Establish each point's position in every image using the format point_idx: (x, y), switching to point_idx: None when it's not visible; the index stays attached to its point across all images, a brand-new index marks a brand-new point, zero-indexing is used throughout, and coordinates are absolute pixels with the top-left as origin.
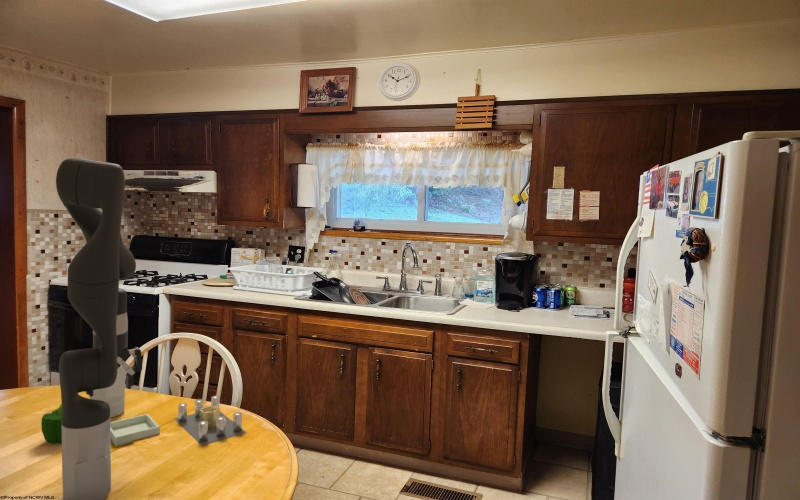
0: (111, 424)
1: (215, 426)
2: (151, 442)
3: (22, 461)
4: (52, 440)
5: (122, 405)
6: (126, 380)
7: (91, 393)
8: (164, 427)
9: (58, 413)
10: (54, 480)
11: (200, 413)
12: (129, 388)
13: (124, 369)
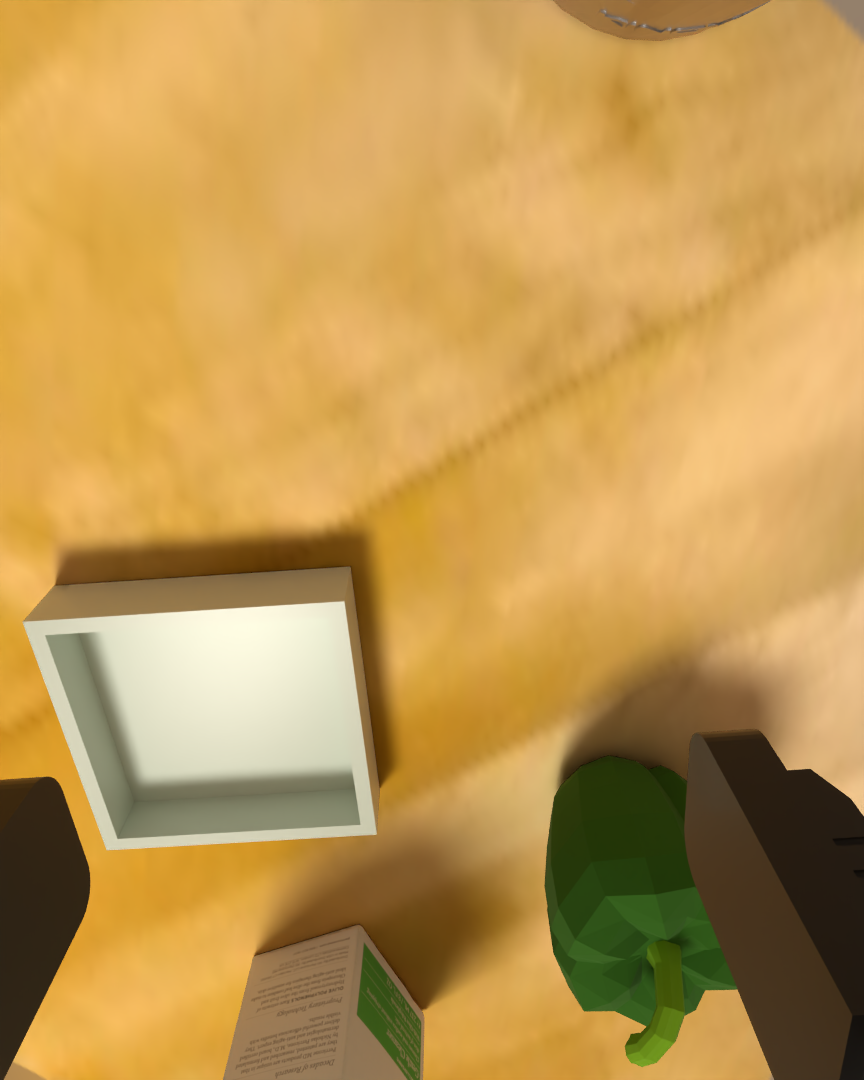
0: (341, 816)
1: None
2: (115, 502)
3: (851, 653)
4: (682, 780)
5: (252, 1004)
6: (8, 996)
7: (753, 765)
8: (21, 681)
9: (679, 962)
10: (792, 272)
11: None
12: (17, 780)
13: None
